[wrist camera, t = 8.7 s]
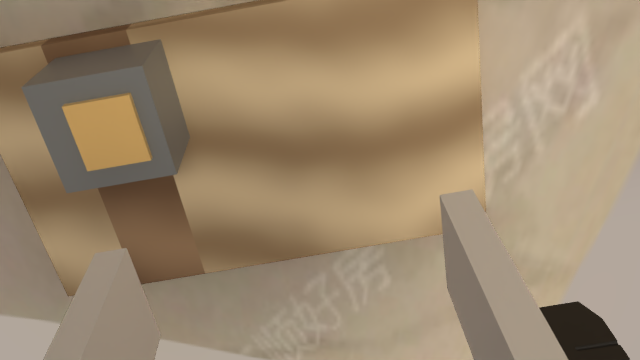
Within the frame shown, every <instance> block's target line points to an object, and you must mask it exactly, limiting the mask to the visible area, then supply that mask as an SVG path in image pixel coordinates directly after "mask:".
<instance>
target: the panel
mask: <svg viewBox="0 0 640 360" xmlns="http://www.w3.org/2000/svg"><path fill="white" fill-rule="evenodd" d="M159 39H161V41H162V45H163V48H164V51H165V55H166V58H167V62H168V65H169V68H170V72H171V75H172V78H173V82H174V85H175V88H176V92H177V95H178V98H179V102H180V105H181V108H182V112H183V115H184V119H185V122H186V125H187V129H188V132H189V135H190V139H189V141H188V144H187V147H186V150H185V153H184V156H183V159H182V161H181V164H180V167H179V170H178V173H177V174H176V175H170V176H165V177H159V178H153V179H147V180H141V181H136V182H130V183H124V184H118V185H112V186H107V187H101V188H95V189H89V190H83V191H78V192H72V193H66V191H65V188H64V186H63V184H62V181H61V179H60V177H59V174H58V172H57V170H56V167H55V165H54V163H53V160H52V158H51V156H50V153H49V151H48V149H47V146H46V144H45V142H44V139H43V137H42V135H41V132H40V130H39V128H38V125H37V123H36V121H35V118H34V116H33V114H32V111H31V109H30V107H29V104H28V102H27V100H26V97H25V95H24V93H23V90H22V88H21V87H22V86H23V85H24V84H26V83H27V82H28V81H29V80H30V79H31V78H33V77H34V76H35V75H36V74H37V73H38V72H40V71H41V70H42V69H43V68H44V67H46V66H47V65H48V64H49V63H50V62H51V61H53V60H54V59H55V58H59V57H65V56H70V55H76V54H81V53H87V52H92V51H98V50H103V49H109V48H114V47H120V46H125V45H131V44H137V43H142V42H148V41H153V40H159ZM0 154H1V156H2V158H3V160H4V162H5V165H6V167H7V169H8V171H9V173H10V175H11V177H12V179H13V181H14V184H15V186H16V188H17V190H18V192H19V194H20V196H21V198H22V200H23V202H24V205H25V207H26V209H27V211H28V213H29V215H30V217H31V219H32V221H33V223H34V226H35V228H36V230H37V232H38V234H39V236H40V238H41V240H42V242H43V245H44V247H45V249H46V251H47V253H48V255H49V257H50V259H51V261H52V263H53V266H54V268H55V270H56V272H57V274H58V276H59V278H60V280H61V282H62V284H63V287H64V289H65V291H66V293H67V295H68V296H73V295H75V293H76V291H77V289H78V287H79V285H80V283H81V281H82V279H83V277H84V275H85V273H86V271H87V269H88V267H89V265H90V263H91V261H92V259H93V257H94V254H95V253H99V252H105V251H111V250H117V249H123V248H127V250H128V253H129V255H130V258H131V260H132V263H133V265H134V268H135V270H136V273H137V275H138V278H139V280H140V283H141V284H145V283H151V282H157V281H163V280H169V279H175V278H181V277H187V276H193V275H199V274H205V273H211V272H217V271H223V270H229V269H235V268H241V267H247V266H253V265H259V264H265V263H271V262H277V261H283V260H289V259H295V258H301V257H307V256H313V255H319V254H325V253H331V252H337V251H343V250H349V249H355V248H361V247H367V246H373V245H379V244H385V243H391V242H397V241H403V240H409V239H415V238H421V237H427V236H433V235H439V234H443V231H442V219H441V207H440V195H442V194H448V193H454V192H460V191H466V190H471V189H473V191H474V193H475V195H476V196H477V198H478V200H479V202H480V204H481V205H482V207H483V209H484V211H485V212H486V202H485V177H484V152H483V127H482V102H481V77H480V52H479V27H478V2H477V0H258V1H253V2H248V3H242V4H237V5H231V6H226V7H220V8H215V9H209V10H204V11H198V12H193V13H188V14H182V15H177V16H171V17H166V18H160V19H155V20H149V21H144V22H138V23H133V24H128V25H122V26H117V27H111V28H106V29H100V30H95V31H89V32H84V33H79V34H73V35H68V36H62V37H57V38H51V39H46V40H40V41H35V42H29V43H24V44H19V45H13V46H8V47H2V48H0Z"/></svg>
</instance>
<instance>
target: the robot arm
mask: <svg viewBox="0 0 640 360" xmlns="http://www.w3.org/2000/svg"><path fill="white" fill-rule="evenodd" d="M440 207H441V219H442V231H443V243H444V255H445V267H446V279H447V289H448V291H449V294H450V297H451V299H452V302H453V305H454V307H455V310H456V313H457V315H458V318H459V321H460V323H461V326H462V329H463V331H464V334H465V337H466V339H467V342H468V345H469V347H470V350H471V353H472V355H473V358H474V360H630V358H629V357H628V356H627V354H626V353H625V351H624V350H623V348H622V347H621V346H620V345H618V343H617V340H616V338H615V337H614V335H613V334H612V332H611V331H610V329H609V328H608V326H607V325H606V324H605V322H604V321H603V319H602V318H600V317H599V316H598V315H596V314H595V313H594V312H592V311H591V310H589V309H588V308H587V307H585V306H584V305H582V304H581V303H579V302H572V303H565V304H559V305H553V306H547V307H541V308H539V307H538V305H537V303H536V301H535V300H534V298H533V296H532V294H531V292H530V291H529V289H528V287H527V285H526V284H525V282H524V280H523V278H522V276H521V275H520V273H519V271H518V269H517V268H516V266H515V264H514V262H513V260H512V259H511V257H510V255H509V253H508V252H507V250H506V248H505V246H504V244H503V243H502V241H501V239H500V237H499V236H498V234H497V232H496V230H495V228H494V227H493V225H492V223H491V221H490V220H489V218H488V216H487V214H486V212H485V211H484V209H483V207H482V205H481V204H480V202H479V200H478V198H477V196H476V195H475V193H474V191H473V189H471V190H466V191H460V192H454V193H448V194H442V195H440ZM160 336H161V334H160V331H159V328H158V326H157V323H156V321H155V318H154V316H153V313H152V311H151V308H150V306H149V303H148V301H147V298H146V296H145V293H144V290H143V288H142V285H141V283H140V280H139V278H138V275H137V273H136V270H135V268H134V265H133V263H132V260H131V258H130V255H129V253H128V250H127V248H123V249H117V250H111V251H105V252H99V253H95V254H94V257H93V259H92V261H91V263H90V265H89V267H88V269H87V271H86V273H85V275H84V277H83V279H82V281H81V283H80V285H79V287H78V289H77V291H76V293H75V296H74V298H73V300H72V302H71V304H70V306H69V308H68V310H67V312H66V314H65V316H64V318H63V320H62V322H61V324H60V326H59V328H58V330H57V333H56V335H55V337H54V339H53V341H52V343H51V345H50V347H49V349H48V351H47V353H46V355H45V357H44V359H43V360H154V359H155V355H156V351H157V348H158V344H159V340H160Z"/></svg>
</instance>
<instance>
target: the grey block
mask: <svg viewBox="0 0 640 360" xmlns="http://www.w3.org/2000/svg"><path fill="white" fill-rule="evenodd" d="M21 88H22V90H23V93H24V95H25V97H26V100H27V102H28V104H29V107H30V109H31V111H32V114H33V116H34V118H35V121H36V123H37V125H38V128H39V130H40V132H41V135H42V137H43V139H44V142H45V144H46V146H47V149H48V151H49V153H50V156H51V158H52V160H53V163H54V165H55V167H56V170H57V172H58V174H59V177H60V179H61V181H62V184H63V186H64V188H65V191H66V193H72V192H78V191H83V190H89V189H95V188H101V187H107V186H112V185H118V184H124V183H130V182H136V181H141V180H147V179H153V178H159V177H165V176H170V175H176V174H177V173H178V170H179V167H180V164H181V161H182V159H183V156H184V153H185V150H186V147H187V144H188V141H189V139H190V135H189V132H188V129H187V125H186V122H185V119H184V115H183V112H182V108H181V105H180V102H179V98H178V95H177V92H176V88H175V85H174V82H173V78H172V75H171V72H170V68H169V65H168V62H167V58H166V55H165V51H164V48H163V45H162V41H161V39H159V40H153V41H148V42H142V43H137V44H131V45H125V46H120V47H114V48H109V49H103V50H98V51H92V52H87V53H81V54H76V55H70V56H65V57H59V58H55V59H54V60H53V61H51V62H50V63H49V64H48V65H47V66H46V67H44V68H43V69H42V70H41V71H40V72H38V73H37V74H36V75H35V76H34V77H33V78H31V79H30V80H29V81H28V82H27V83H26V84H24V85H23V86H22V87H21Z"/></svg>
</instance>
